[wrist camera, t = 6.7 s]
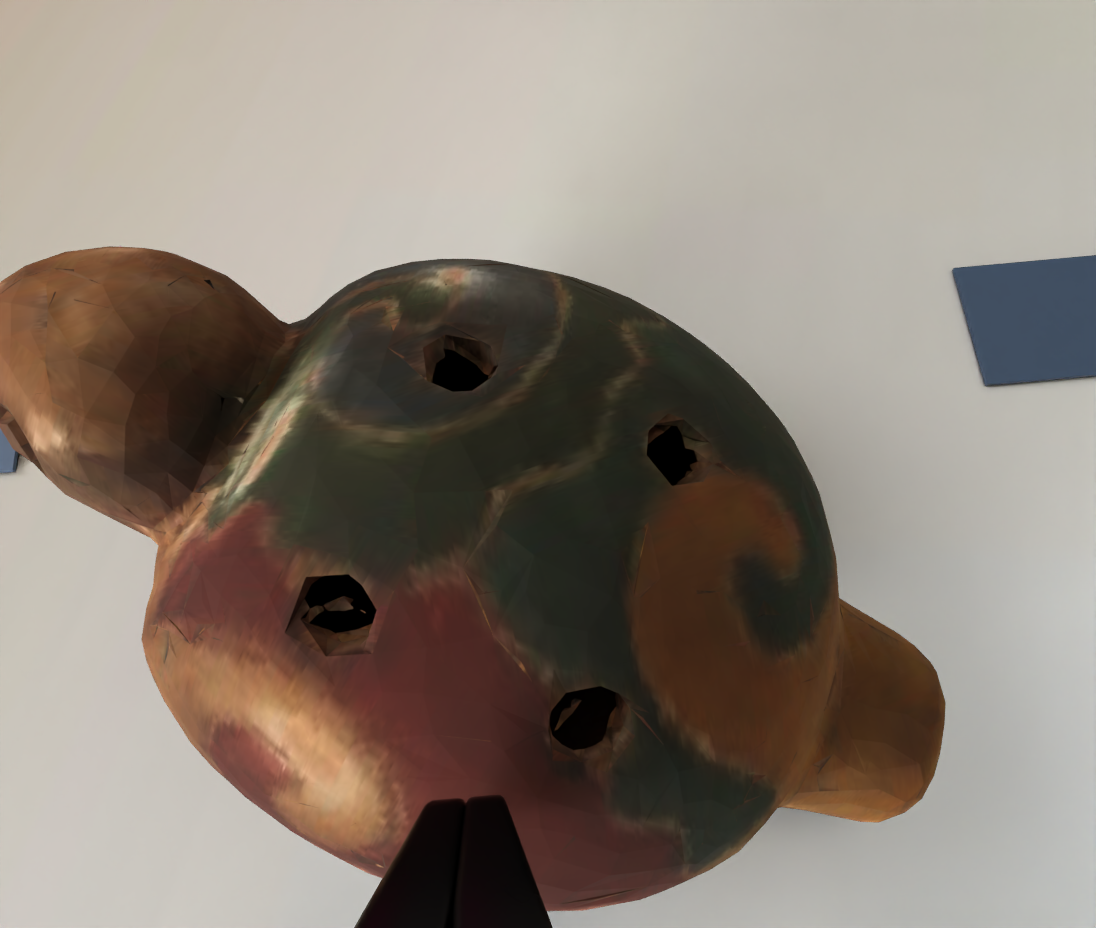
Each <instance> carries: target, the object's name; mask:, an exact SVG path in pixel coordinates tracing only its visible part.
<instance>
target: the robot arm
mask: <svg viewBox="0 0 1096 928" xmlns="http://www.w3.org/2000/svg"><path fill="white" fill-rule="evenodd" d="M354 928H552V925H551V922H550V919H549V917H548V914H547V911H546V909H545V906H544V903H543V901H542V898H541V895H540V892H539V890H538V887H537V884H536V882H535V879H534V876H533V874H532V871H531V868H530V865H529V863H528V860H527V857H526V855H525V852H524V849H523V846H522V844H521V841H520V838H519V836H518V833H517V830H516V828H515V825H514V822H513V819H512V817H511V814H510V811H509V809H508V806H507V803H506V801H505V799H504V798H503V796H501V795H488V796H476V797H471V798H469V799H468V800H467V802H465V801H464V800H463V799H461V798H453V799H441V800H433V801H430V802H428V803H427V804H426V805H425V806H424V808H423V809H422V811H421V813H420V814H419V816H418V818H417V820H416V821H415V823H414V825H413V827H412V828H411V830H410V832H409V833H408V835H407V837H406V839H405V840H404V842H403V844H402V846H401V847H400V849H399V851H398V853H397V854H396V856H395V858H394V859H393V861H392V863H391V865H390V866H389V868H388V870H387V872H386V873H385V875H384V877H383V879H382V880H381V882H380V884H379V886H378V887H377V889H376V891H375V892H374V894H373V896H372V898H371V899H370V901H369V903H368V905H367V906H366V908H365V910H364V912H363V913H362V915H361V917H360V919H359V920H358V922H357V924H356V925H355V927H354Z"/></svg>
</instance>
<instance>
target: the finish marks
mask: <svg viewBox="0 0 1096 928" xmlns="http://www.w3.org/2000/svg"><path fill="white" fill-rule="evenodd" d="M952 271H953V274H954V278H955V281H956V285H957V289H958V292H959V296H960V299H961V303H962V306H963V310H964V313H965V317H966V320H967V324H968V327H969V331H970V334H971V338H972V341H973V345H974V348H975V352H976V355H977V359H978V362H979V366H980V369H981V373H982V376H983V380H984V384H985V386H988V385H999V384H1011V383H1022V382H1033V381H1045V380H1056V379H1067V378H1078V377H1090V376H1096V255H1094V256H1083V257H1072V258H1061V259H1049V260H1038V261H1027V262H1016V263H1005V264H994V265H983V266H972V267H961V268H954V269H953V270H952ZM17 458H18V452H16V451H15V450H14V449H13V448H12V447H11V445H10V443H9V442H8V440H7V438H6V437H5V435H4V434H3V432H2V430H1V429H0V473H6V472H15V471H16V465H17Z"/></svg>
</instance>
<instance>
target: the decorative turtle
mask: <svg viewBox="0 0 1096 928" xmlns="http://www.w3.org/2000/svg"><path fill="white" fill-rule="evenodd" d="M0 429H1V430H2V432H3V434H4V435H5V437H6V438H7V440H8V442H9V443H10V445H11V447H12V448H13V449H14V450H15V451H16V452H18V453H19V454H21V455H22V456H24V457H25V458H27V459H28V460H29V461H31V462H33V463H34V464H35V465H36V466H37V467H38V468H39V469H40V470H41V471H42V472H43V473H44V474H45V476H46V477H47V478H49V479H50V480H51V481H52V482H53V483H54V484H55V485H56V486H57V487H58V488H59V489H60V490H61V491H62V492H63V493H64V494H65V495H67V496H69V497H71V498H73V499H75V500H77V501H79V502H81V503H83V504H85V505H87V506H89V507H91V508H93V509H95V510H96V511H98V512H100V513H102V514H104V515H106V516H108V517H110V518H112V519H114V520H116V521H118V522H120V523H122V524H124V525H126V526H128V527H130V528H132V529H134V530H136V531H138V532H140V533H142V534H144V535H146V536H148V537H150V538H151V539H152V540H153V541H155V542H156V543H157V544H158V545H159V546H158V552H157V557H156V563H155V572H154V584H153V589H152V592H151V595H150V598H149V602H148V605H147V609H146V615H145V621H144V628H143V634H142V643H143V647H144V651H145V656H146V660H147V663H148V665H149V668H150V671H151V673H152V676H153V678H154V680H155V682H156V685H157V687H158V689H159V691H160V693H161V695H162V697H163V699H164V701H165V703H166V704H167V706H168V707H169V709H170V711H171V712H172V714H173V715H174V717H175V719H176V720H177V722H178V723H179V725H180V726H181V728H182V730H183V731H184V733H185V734H186V736H187V737H188V739H189V741H190V742H191V743H192V744H193V746H194V747H195V748H196V749H197V750H198V751H199V752H200V753H201V755H202V756H203V757H204V758H205V759H206V760H207V761H208V762H209V764H210V765H211V766H212V767H213V768H214V769H215V770H217V771H218V772H219V773H220V774H221V775H222V776H223V777H225V778H226V779H227V780H228V781H229V782H230V783H231V784H232V785H233V786H234V787H235V788H236V789H237V790H239V791H240V792H241V793H242V794H243V795H244V796H245V797H246V798H247V799H249V800H250V801H251V802H253V803H254V804H256V805H257V806H258V807H260V808H261V809H262V810H264V811H265V812H266V813H268V814H269V815H270V816H272V817H273V818H274V819H276V820H277V821H278V822H280V823H281V824H283V825H284V826H285V827H287V828H288V829H289V830H291V831H292V832H294V833H296V834H297V835H299V836H300V837H302V838H304V839H305V840H307V841H309V842H310V843H312V844H314V845H315V846H317V847H319V848H321V849H323V850H325V851H327V852H328V853H330V854H332V855H334V856H336V857H338V858H340V859H342V860H344V861H345V862H347V863H349V864H351V865H353V866H355V867H357V868H359V869H361V870H363V871H365V872H367V873H369V874H372V875H375V876H378V877H381V878H383V877H384V875H385V873H386V872H387V870H388V868H389V866H390V865H391V863H392V861H393V859H394V858H395V856H396V854H397V853H398V851H399V849H400V847H401V846H402V844H403V842H404V840H405V839H406V837H407V835H408V833H409V832H410V830H411V828H412V827H413V825H414V823H415V821H416V820H417V818H418V816H419V814H420V813H421V811H422V809H423V808H424V806H425V805H426V804H427V803H428V802H430V801H433V800H441V799H453V798H461V799H463V800H464V801H465V802H467V800H468V799H469V798H471V797H476V796H488V795H501V796H503V798H504V799H505V801H506V803H507V806H508V809H509V811H510V814H511V817H512V819H513V822H514V825H515V828H516V830H517V833H518V836H519V838H520V841H521V844H522V846H523V849H524V852H525V855H526V857H527V860H528V863H529V865H530V868H531V871H532V874H533V876H534V879H535V882H536V884H537V887H538V890H539V892H540V895H541V898H542V901H543V903H544V906H545V909H546V911H575V910H588V909H593V908H598V907H604V906H609V905H614V904H620V903H625V902H630V901H635V900H640V899H643V898H646V897H648V896H651V895H654V894H657V893H659V892H662V891H665V890H667V889H669V888H671V887H674V886H676V885H678V884H680V883H682V882H685V881H687V880H689V879H691V878H693V877H695V876H697V875H699V874H702V873H704V872H706V871H708V870H710V869H712V868H713V867H715V866H717V865H718V864H720V863H721V862H723V861H724V860H726V859H728V858H729V857H731V856H732V855H734V854H736V853H737V852H739V851H740V850H741V849H742V848H743V846H744V845H745V844H746V843H747V842H748V841H749V840H750V839H751V838H752V837H753V836H754V835H755V834H756V833H757V832H758V830H759V829H760V828H761V827H762V826H763V825H764V824H765V823H766V822H767V820H768V819H769V818H770V816H771V815H772V814H773V813H774V811H775V810H776V809H777V808H779V807H786V808H793V809H801V810H806V811H811V812H816V813H821V814H826V815H831V816H836V817H841V818H846V819H851V820H855V821H860V822H881V821H883V820H886V819H889V818H891V817H894V816H897V815H899V814H902V813H905V812H906V811H907V810H908V809H910V808H911V807H912V806H913V805H915V804H916V803H917V802H918V801H919V800H921V799H922V797H923V795H924V793H925V792H926V790H927V788H928V786H929V784H930V782H931V780H932V778H933V776H934V774H935V770H936V766H937V762H938V759H939V755H940V750H941V743H942V737H943V730H944V720H945V700H944V696H943V693H942V689H941V686H940V682H939V679H938V675H937V672H936V670H935V669H934V667H933V665H932V664H931V662H930V661H929V660H928V659H927V658H926V657H925V656H924V655H923V654H922V653H921V652H920V651H919V650H918V649H917V648H916V647H915V646H914V645H913V644H911V643H910V642H909V641H907V640H906V639H905V638H903V637H902V636H901V635H899V634H898V633H896V632H895V631H893V630H891V629H890V628H888V627H886V626H885V625H883V624H881V623H880V622H878V621H876V620H874V619H873V618H871V617H869V616H868V615H866V614H864V613H863V612H861V611H859V610H858V609H856V608H854V607H853V606H851V605H849V604H848V603H846V602H844V601H843V600H841V599H840V598H839V591H838V577H837V563H836V556H835V552H834V547H833V543H832V539H831V535H830V530H829V527H828V523H827V519H826V516H825V512H824V508H823V505H822V501H821V498H820V494H819V492H818V489H817V487H816V485H815V482H814V480H813V478H812V475H811V473H810V471H809V470H808V468H807V466H806V464H805V462H804V460H803V458H802V456H801V454H800V452H799V450H798V448H797V446H796V444H795V442H794V440H793V439H792V437H791V436H790V434H789V433H788V431H787V430H786V428H785V427H784V426H783V424H782V423H781V421H780V420H779V418H778V417H777V416H776V415H775V414H774V412H773V411H772V410H771V409H770V408H769V407H768V405H767V404H766V403H765V402H764V401H763V400H762V398H761V397H760V396H759V395H758V394H757V393H756V391H755V390H754V389H753V388H752V387H751V386H750V385H749V383H748V382H746V381H745V380H744V379H743V378H742V377H741V376H740V375H739V374H738V373H737V372H736V371H735V370H734V369H733V368H732V367H731V366H730V365H729V364H728V363H727V362H725V361H724V360H723V359H722V358H721V357H719V356H718V355H717V354H716V353H715V352H713V351H712V350H711V349H710V348H708V347H707V346H706V345H705V344H703V343H702V342H701V341H699V340H698V339H697V338H695V337H694V336H693V335H691V334H690V333H688V332H687V331H685V330H684V329H682V328H681V327H679V326H678V325H676V324H675V323H673V322H671V321H670V320H668V319H667V318H665V317H664V316H662V315H660V314H658V313H656V312H655V311H653V310H651V309H649V308H647V307H645V306H643V305H642V304H640V303H638V302H636V301H634V300H632V299H631V298H628V297H626V296H623V295H621V294H619V293H616V292H614V291H611V290H609V289H606V288H604V287H601V286H598V285H595V284H592V283H589V282H586V281H583V280H580V279H577V278H573V277H570V276H566V275H562V274H558V273H554V272H548V271H543V270H538V269H533V268H528V267H524V266H519V265H514V264H509V263H503V262H498V261H492V260H477V259H437V260H428V261H418V262H410V263H406V264H402V265H398V266H394V267H390V268H386V269H382V270H377V271H374V272H372V273H370V274H368V275H366V276H364V277H362V278H360V279H358V280H356V281H354V282H352V283H350V284H348V285H347V286H346V287H344V288H343V289H341V290H340V291H339V292H337V293H336V294H335V295H333V296H332V297H330V298H329V299H328V300H327V301H326V302H325V303H324V304H323V305H322V306H321V307H320V308H319V309H317V310H316V311H315V312H314V313H312V314H311V315H310V316H309V317H307V318H306V319H304V320H301V321H298V322H294V323H291V324H287V323H285V322H282V321H280V320H279V319H277V318H276V317H275V316H274V315H273V314H272V313H271V312H270V311H268V310H267V309H266V308H265V307H264V306H263V305H262V304H261V303H259V302H258V301H257V300H256V299H255V298H254V297H253V296H252V295H251V294H249V293H248V292H247V291H246V290H245V289H244V288H242V287H241V286H240V285H238V284H237V283H236V282H234V281H233V280H232V279H230V278H229V277H228V276H226V275H224V274H222V273H219V272H217V271H215V270H212V269H210V268H208V267H205V266H203V265H201V264H198V263H196V262H193V261H191V260H188V259H186V258H183V257H181V256H178V255H176V254H172V253H169V252H165V251H159V250H152V249H146V248H133V247H102V248H94V249H86V250H78V251H70V252H64V253H61V254H58V255H55V256H52V257H50V258H47V259H44V260H41V261H38V262H35V263H32V264H29V265H27V266H24V267H23V268H21V269H20V270H18V271H17V272H15V273H14V274H12V275H10V276H9V277H7V278H6V279H4V280H3V281H1V283H0Z"/></svg>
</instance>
